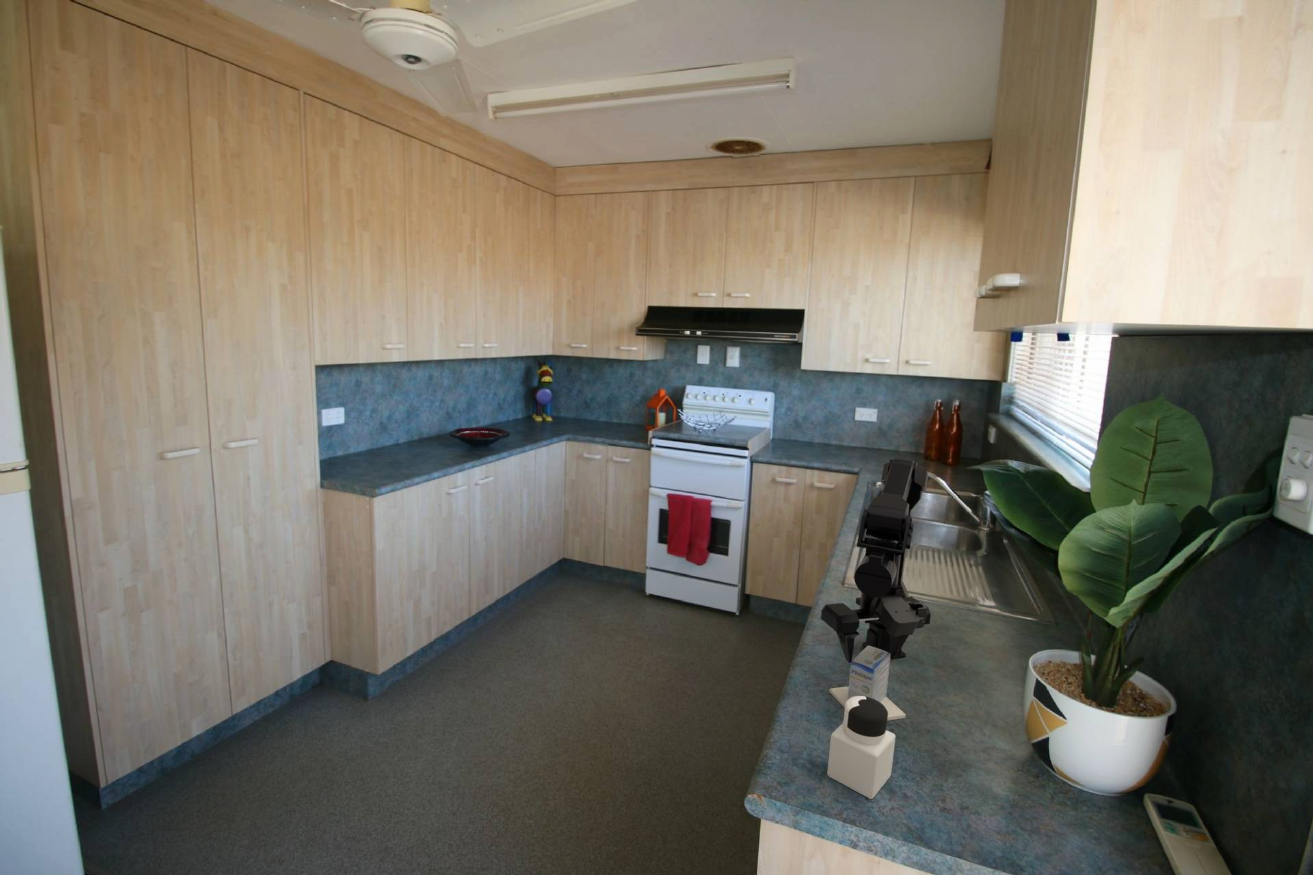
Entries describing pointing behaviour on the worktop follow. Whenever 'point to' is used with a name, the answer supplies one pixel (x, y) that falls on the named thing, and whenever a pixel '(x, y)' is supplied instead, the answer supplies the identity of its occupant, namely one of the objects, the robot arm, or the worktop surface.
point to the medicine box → (869, 674)
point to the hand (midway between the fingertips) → (871, 659)
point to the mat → (892, 709)
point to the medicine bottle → (862, 747)
